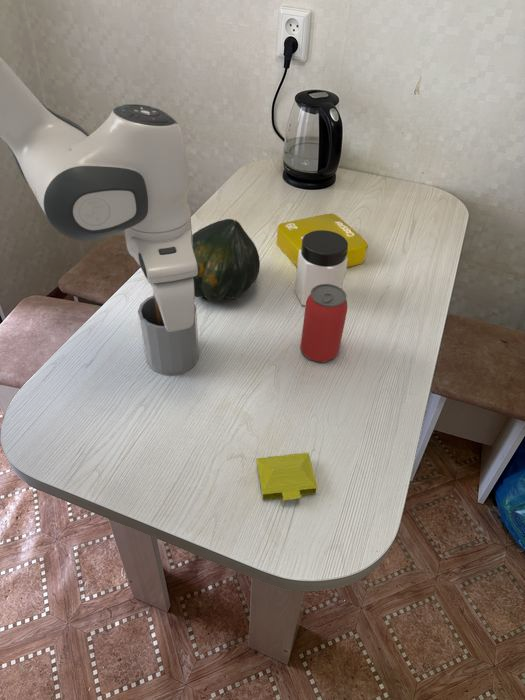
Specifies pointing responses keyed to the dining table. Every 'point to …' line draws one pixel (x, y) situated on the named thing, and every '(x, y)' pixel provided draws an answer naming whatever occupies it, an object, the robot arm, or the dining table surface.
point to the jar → (320, 262)
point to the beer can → (324, 322)
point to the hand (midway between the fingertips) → (167, 314)
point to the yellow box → (296, 230)
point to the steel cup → (167, 342)
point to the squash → (224, 260)
